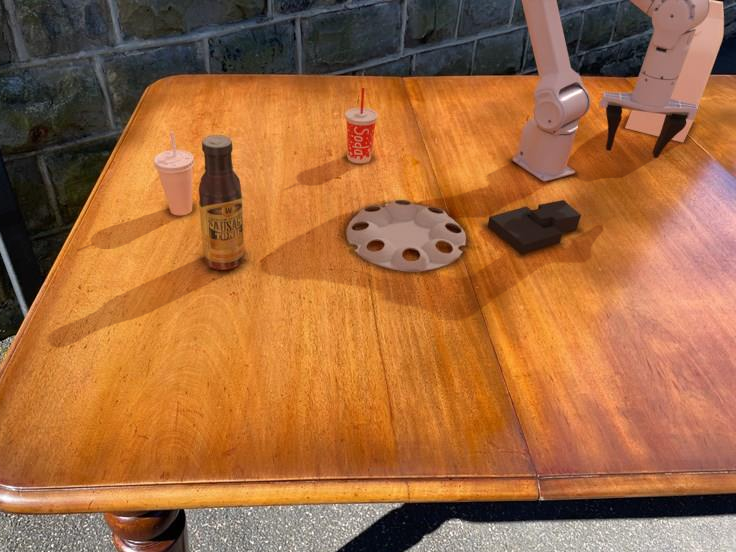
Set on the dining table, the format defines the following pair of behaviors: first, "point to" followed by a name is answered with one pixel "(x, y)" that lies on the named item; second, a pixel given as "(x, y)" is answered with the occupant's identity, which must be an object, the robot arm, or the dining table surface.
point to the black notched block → (556, 216)
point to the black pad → (523, 231)
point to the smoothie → (176, 178)
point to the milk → (689, 73)
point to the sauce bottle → (221, 206)
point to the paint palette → (406, 236)
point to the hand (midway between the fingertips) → (631, 151)
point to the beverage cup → (360, 132)
